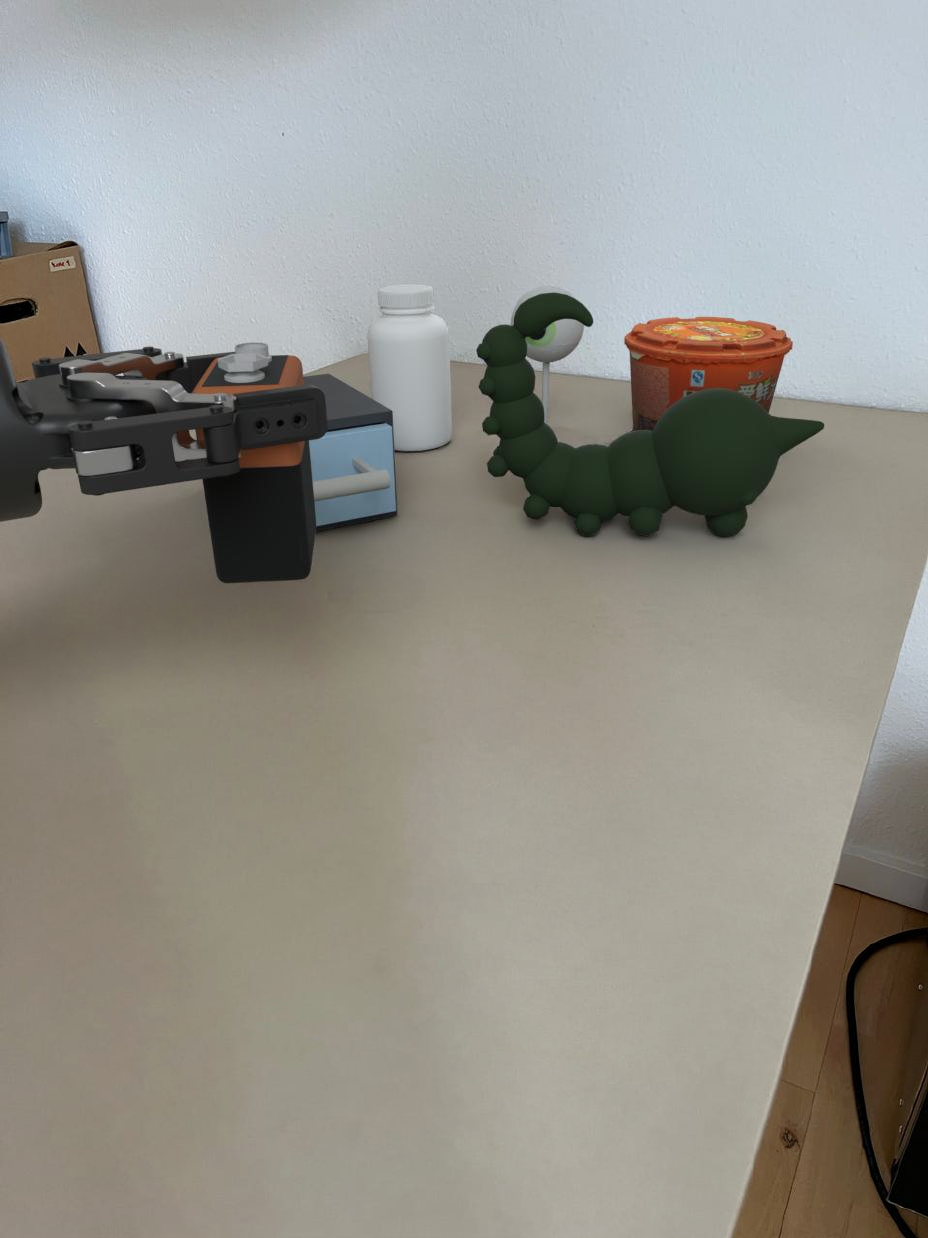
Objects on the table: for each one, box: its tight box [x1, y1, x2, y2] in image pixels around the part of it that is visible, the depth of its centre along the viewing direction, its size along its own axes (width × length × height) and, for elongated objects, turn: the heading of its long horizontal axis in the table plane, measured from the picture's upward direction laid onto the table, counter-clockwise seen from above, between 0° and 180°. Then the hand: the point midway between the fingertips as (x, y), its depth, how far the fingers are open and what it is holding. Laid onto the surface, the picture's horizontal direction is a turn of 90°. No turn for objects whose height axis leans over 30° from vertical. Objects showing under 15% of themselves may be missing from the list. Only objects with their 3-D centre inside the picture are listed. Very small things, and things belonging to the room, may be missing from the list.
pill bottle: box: [366, 283, 453, 452], centre depth 93 cm, size 8×8×15 cm
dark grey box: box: [195, 373, 398, 532], centre depth 79 cm, size 15×13×9 cm
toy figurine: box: [475, 292, 825, 538], centre depth 71 cm, size 9×19×25 cm
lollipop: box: [510, 284, 585, 426], centre depth 93 cm, size 7×7×15 cm
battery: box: [192, 341, 317, 584], centre depth 44 cm, size 4×7×10 cm, turn 5°
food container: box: [623, 316, 794, 431], centre depth 94 cm, size 16×16×11 cm
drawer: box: [309, 423, 396, 526], centre depth 75 cm, size 19×11×7 cm, turn 27°
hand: (292, 390), depth 43 cm, fingers closed on battery, 8 cm apart
